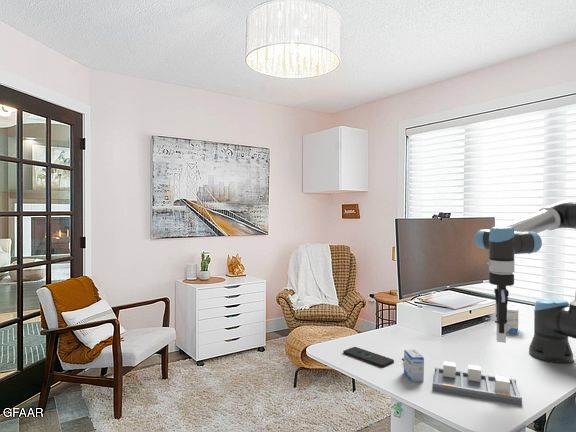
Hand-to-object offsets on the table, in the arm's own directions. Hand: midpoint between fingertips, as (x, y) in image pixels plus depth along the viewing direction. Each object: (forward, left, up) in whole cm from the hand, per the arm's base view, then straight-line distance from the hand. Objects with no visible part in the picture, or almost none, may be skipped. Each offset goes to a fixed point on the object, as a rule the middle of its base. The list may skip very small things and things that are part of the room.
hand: (501, 341), depth 135 cm
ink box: (-10, -72, -16) cm, 74 cm away
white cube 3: (+16, 0, -14) cm, 21 cm away
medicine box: (+28, +3, -16) cm, 33 cm away
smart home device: (+47, -8, -16) cm, 51 cm away
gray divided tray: (+8, +4, -16) cm, 18 cm away
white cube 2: (+8, 0, -14) cm, 16 cm away
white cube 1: (0, +7, -14) cm, 16 cm away
